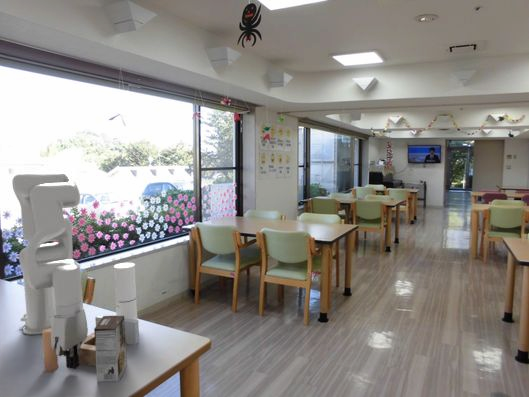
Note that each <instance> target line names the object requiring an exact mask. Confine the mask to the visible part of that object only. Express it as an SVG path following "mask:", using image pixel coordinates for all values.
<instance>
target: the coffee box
mask: <svg viewBox="0 0 529 397" xmlns="http://www.w3.org/2000/svg"><path fill="white" fill-rule="evenodd" d="M93 330H94V332H93V333H94V334H95V350H96V366H95V367H96V368H95V369H96V381H97V383H98V382H100V383H101V382H103V383H104V382H118V381H120V380H121V377H122V376H123V373H124V370H125V369H126V366H127V364H128V360H127V343H126V340H125V323H124V316H116V315H103V317H102V319H101V320H100V322H99V323H98V324H97V326H96V325H95V327H94V328H93Z"/></svg>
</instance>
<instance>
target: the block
mask: <svg viewBox="0 0 529 397" xmlns="http://www.w3.org/2000/svg"><path fill="white" fill-rule="evenodd" d="M78 355H79V364H84V365H90V366H95V367H96V350H95V334H94V332H92V333H90V334H89V335H87V337H86V340H85V341H84V342H83V343H82V345H81V347H80V352H79V353H78Z"/></svg>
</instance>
